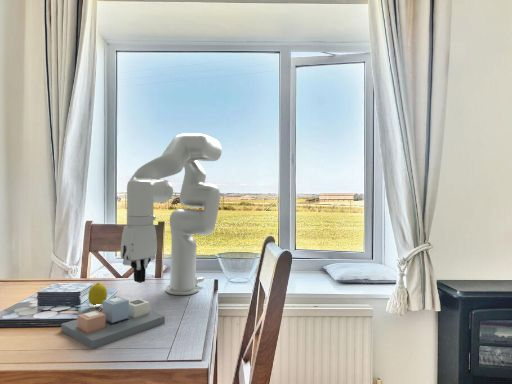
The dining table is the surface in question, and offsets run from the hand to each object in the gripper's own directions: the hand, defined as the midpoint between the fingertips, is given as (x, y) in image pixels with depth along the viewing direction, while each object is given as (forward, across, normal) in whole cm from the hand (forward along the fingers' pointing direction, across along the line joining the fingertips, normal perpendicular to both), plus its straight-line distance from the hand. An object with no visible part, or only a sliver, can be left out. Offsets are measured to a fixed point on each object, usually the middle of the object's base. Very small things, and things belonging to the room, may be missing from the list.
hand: (139, 281), depth 106 cm
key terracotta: (+10, +15, +1) cm, 19 cm away
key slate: (+8, +8, 0) cm, 12 cm away
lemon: (+12, +3, -17) cm, 21 cm away
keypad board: (+11, +8, +1) cm, 14 cm away
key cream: (+11, +1, +1) cm, 11 cm away
